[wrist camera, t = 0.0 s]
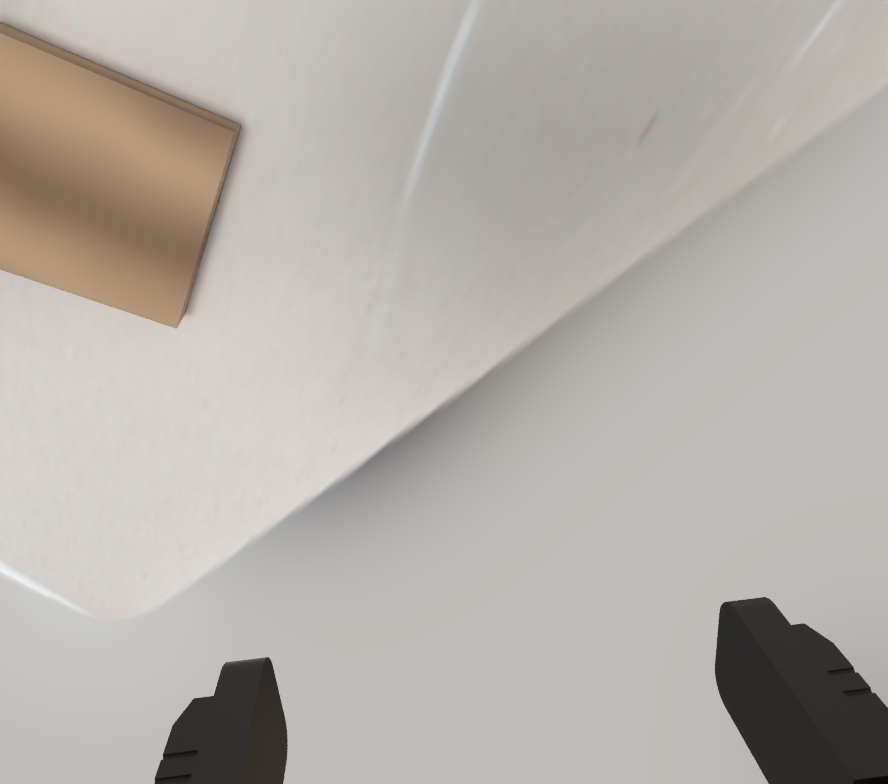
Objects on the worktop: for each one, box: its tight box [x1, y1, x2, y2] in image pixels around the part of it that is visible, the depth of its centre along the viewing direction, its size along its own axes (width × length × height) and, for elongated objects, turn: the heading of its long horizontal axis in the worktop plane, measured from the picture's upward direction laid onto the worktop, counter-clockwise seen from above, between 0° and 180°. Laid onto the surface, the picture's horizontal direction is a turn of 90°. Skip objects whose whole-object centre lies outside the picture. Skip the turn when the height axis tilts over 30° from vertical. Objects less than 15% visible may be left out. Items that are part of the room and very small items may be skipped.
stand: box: [0, 23, 240, 328], centre depth 28 cm, size 9×9×2 cm
